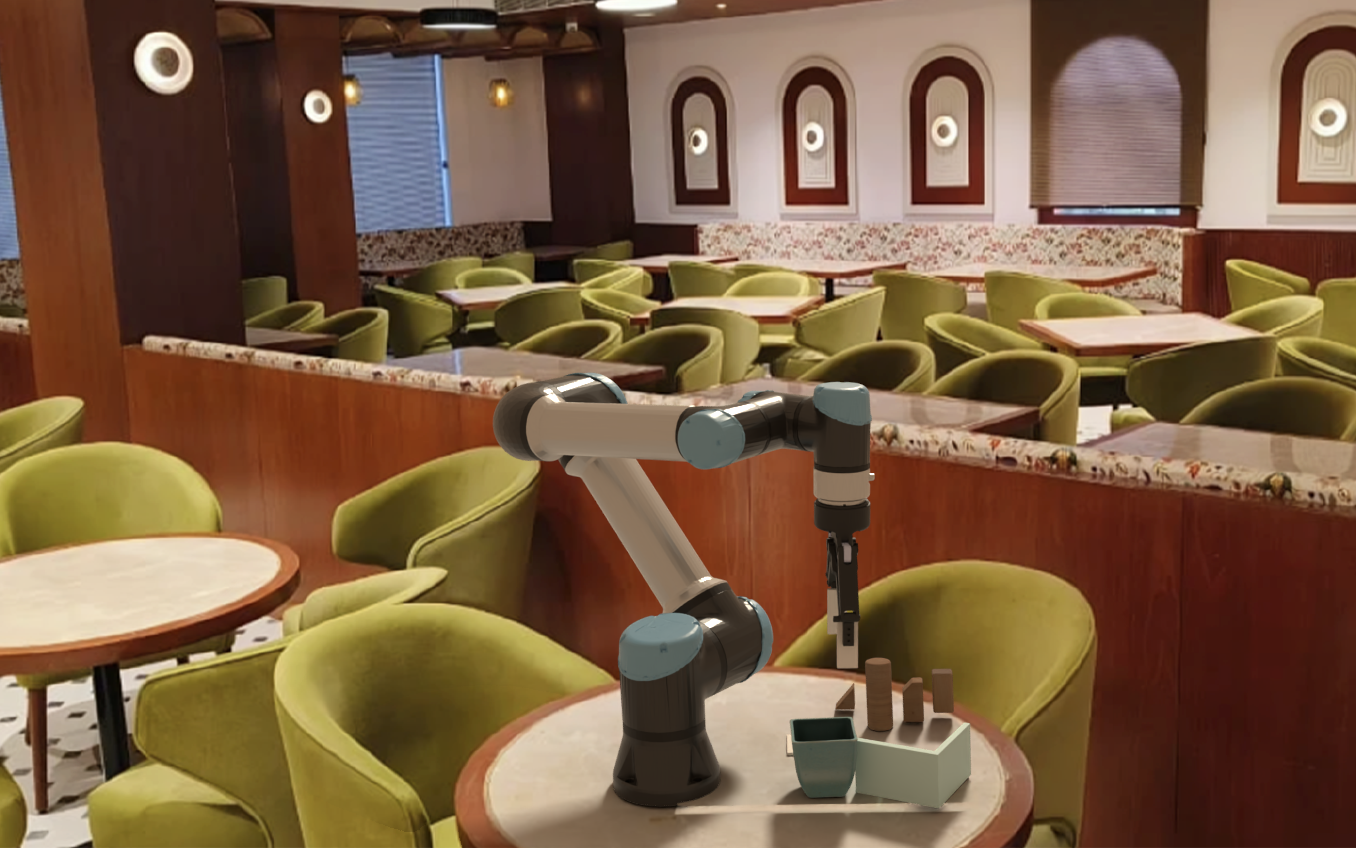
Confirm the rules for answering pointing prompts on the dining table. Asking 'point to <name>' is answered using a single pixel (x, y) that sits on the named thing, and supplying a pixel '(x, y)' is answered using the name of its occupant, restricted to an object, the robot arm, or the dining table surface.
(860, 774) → the right angle wall
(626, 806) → the dining table surface
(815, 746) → the flower pot
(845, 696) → the wooden block set
